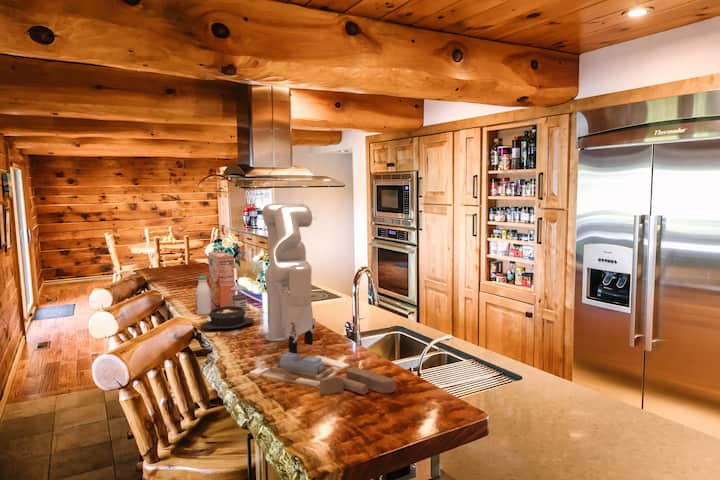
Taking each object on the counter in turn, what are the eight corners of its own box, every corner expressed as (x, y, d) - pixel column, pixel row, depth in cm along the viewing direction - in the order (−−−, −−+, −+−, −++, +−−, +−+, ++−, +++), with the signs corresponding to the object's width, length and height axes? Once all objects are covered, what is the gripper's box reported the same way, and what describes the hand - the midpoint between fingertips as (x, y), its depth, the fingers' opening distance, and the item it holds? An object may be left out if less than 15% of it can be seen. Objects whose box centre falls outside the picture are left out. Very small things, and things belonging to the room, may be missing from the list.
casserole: (206, 335, 217) (205, 317, 216) (196, 326, 233) (195, 309, 232) (259, 327, 230) (259, 309, 229) (246, 319, 246) (246, 302, 245)
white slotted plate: (260, 369, 175) (260, 360, 175) (269, 371, 173) (269, 361, 173) (249, 375, 170) (249, 365, 170) (258, 377, 168) (258, 366, 168)
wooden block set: (352, 363, 165) (396, 375, 154) (352, 379, 166) (396, 392, 155) (317, 377, 152) (362, 391, 141) (317, 394, 153) (362, 410, 142)
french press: (252, 313, 257) (251, 266, 255) (238, 318, 247) (237, 269, 245) (237, 311, 262) (236, 265, 259) (223, 316, 251) (221, 268, 249)
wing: (318, 358, 188) (318, 355, 188) (349, 367, 177) (349, 364, 177) (310, 361, 185) (310, 357, 184) (342, 370, 174) (342, 367, 174)
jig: (289, 362, 182) (289, 356, 182) (340, 371, 172) (340, 365, 172) (262, 376, 168) (262, 370, 168) (316, 387, 158) (316, 381, 158)
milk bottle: (214, 312, 259) (213, 275, 258) (205, 316, 252) (204, 277, 250) (202, 311, 262) (201, 274, 260) (193, 314, 255) (191, 277, 253)
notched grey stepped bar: (280, 370, 172) (280, 355, 171) (287, 366, 175) (286, 351, 175) (319, 377, 164) (319, 362, 164) (325, 374, 168) (325, 358, 167)
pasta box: (210, 304, 279) (208, 252, 276) (224, 302, 283) (222, 251, 280) (220, 312, 259) (218, 256, 256) (235, 310, 263) (233, 255, 260)
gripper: (305, 294, 177) (305, 339, 179) (276, 304, 162) (277, 354, 164) (322, 296, 174) (323, 342, 176) (295, 307, 158) (295, 358, 160)
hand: (301, 348), depth 170 cm, fingers open, 9 cm apart
